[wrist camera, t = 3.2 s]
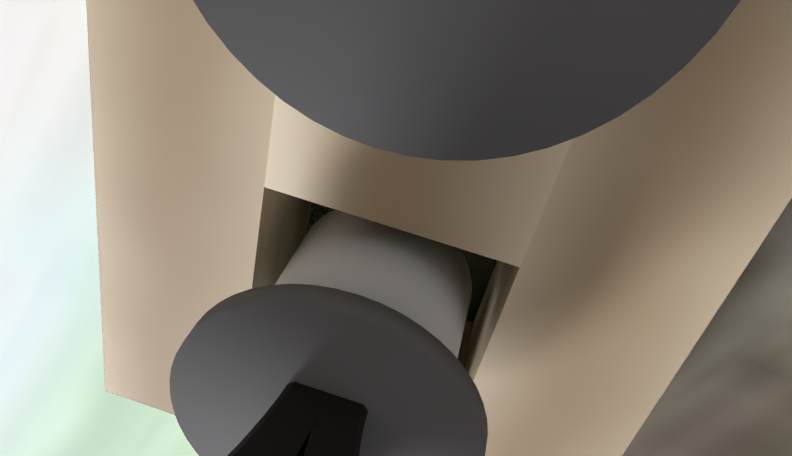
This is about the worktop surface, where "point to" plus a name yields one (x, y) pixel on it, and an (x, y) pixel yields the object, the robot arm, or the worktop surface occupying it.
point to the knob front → (464, 65)
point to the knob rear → (341, 344)
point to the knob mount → (444, 217)
